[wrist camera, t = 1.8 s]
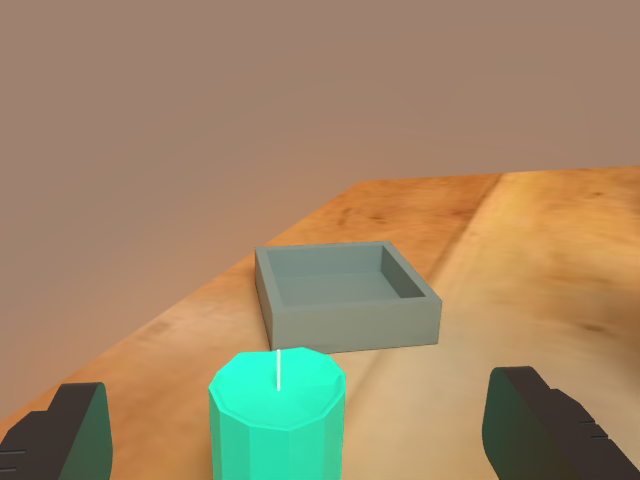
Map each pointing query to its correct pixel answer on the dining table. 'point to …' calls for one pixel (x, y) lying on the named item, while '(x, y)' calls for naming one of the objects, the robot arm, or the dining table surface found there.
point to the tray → (344, 298)
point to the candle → (277, 416)
